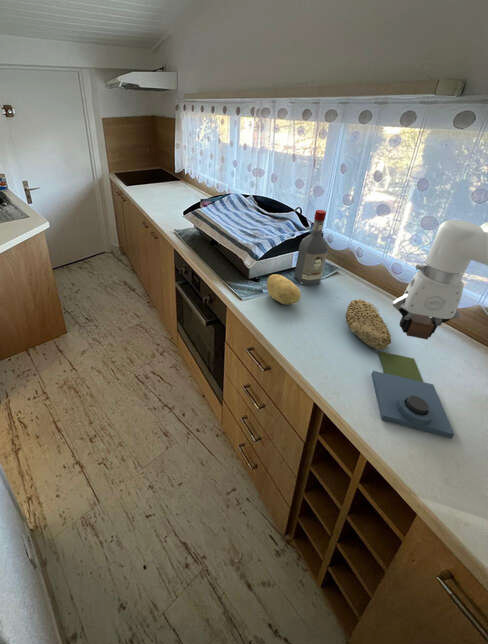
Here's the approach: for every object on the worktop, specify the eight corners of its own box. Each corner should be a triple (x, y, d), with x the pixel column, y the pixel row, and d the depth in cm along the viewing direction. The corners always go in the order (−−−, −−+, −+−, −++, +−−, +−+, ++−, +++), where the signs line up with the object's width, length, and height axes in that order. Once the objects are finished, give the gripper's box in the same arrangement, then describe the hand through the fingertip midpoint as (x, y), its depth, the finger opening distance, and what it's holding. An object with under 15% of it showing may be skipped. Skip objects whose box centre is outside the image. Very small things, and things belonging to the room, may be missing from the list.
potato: (273, 312, 109) (276, 289, 104) (263, 289, 122) (266, 268, 117) (301, 311, 109) (305, 289, 104) (289, 288, 122) (292, 268, 117)
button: (422, 402, 73) (425, 398, 72) (428, 417, 70) (431, 412, 69) (403, 398, 74) (406, 393, 73) (408, 412, 71) (410, 407, 70)
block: (427, 339, 78) (434, 325, 76) (406, 335, 79) (412, 321, 77) (422, 328, 82) (428, 314, 80) (402, 324, 83) (408, 311, 81)
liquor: (291, 275, 131) (303, 208, 117) (310, 272, 132) (324, 206, 118) (302, 286, 123) (316, 216, 109) (323, 284, 124) (339, 214, 110)
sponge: (342, 311, 111) (339, 336, 94) (352, 293, 108) (351, 315, 91) (381, 329, 106) (385, 358, 89) (393, 310, 103) (399, 337, 86)
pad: (413, 359, 89) (413, 358, 89) (423, 384, 81) (423, 382, 81) (378, 352, 92) (379, 351, 91) (384, 375, 84) (385, 374, 84)
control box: (430, 388, 80) (435, 379, 79) (451, 439, 68) (458, 429, 67) (371, 374, 84) (374, 365, 83) (381, 419, 73) (385, 410, 71)
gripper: (404, 274, 71) (381, 333, 80) (494, 287, 66) (459, 349, 75) (396, 259, 77) (376, 316, 86) (478, 270, 73) (447, 329, 81)
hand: (415, 330), depth 80 cm, fingers closed on block, 4 cm apart
